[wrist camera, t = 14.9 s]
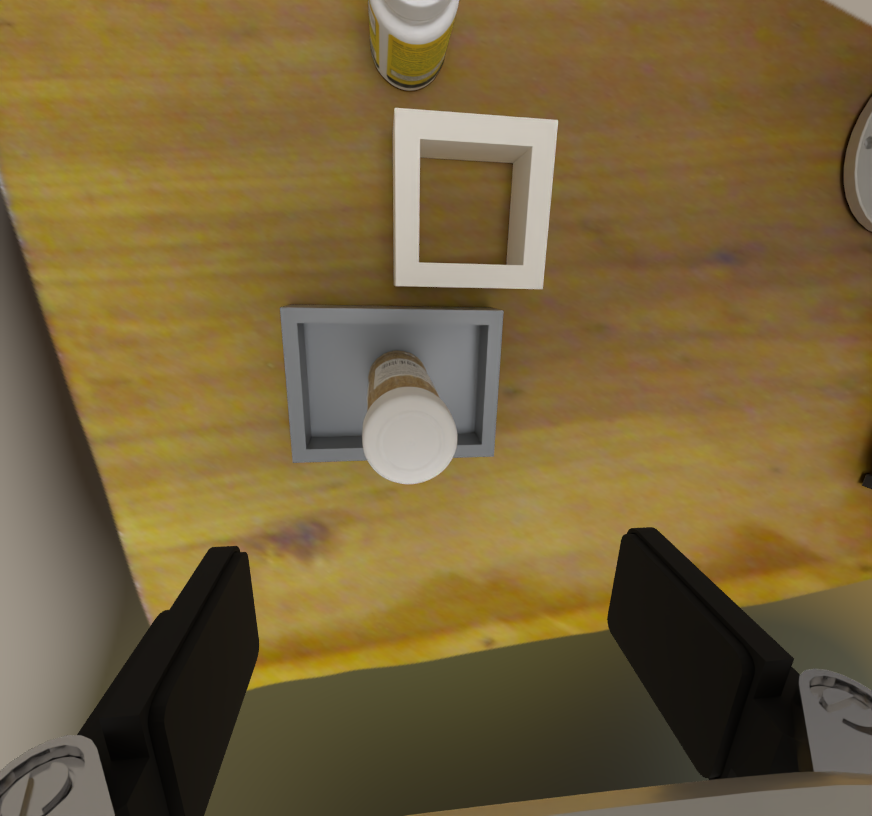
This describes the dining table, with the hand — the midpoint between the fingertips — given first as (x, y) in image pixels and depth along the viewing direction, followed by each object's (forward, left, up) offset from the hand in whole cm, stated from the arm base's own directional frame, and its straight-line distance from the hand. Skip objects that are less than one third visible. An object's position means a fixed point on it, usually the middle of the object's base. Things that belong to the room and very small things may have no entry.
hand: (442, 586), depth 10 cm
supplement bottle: (-1, -21, -24) cm, 32 cm away
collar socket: (-5, -12, -24) cm, 27 cm away
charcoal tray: (0, 0, -24) cm, 24 cm away
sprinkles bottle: (0, 0, -23) cm, 23 cm away
